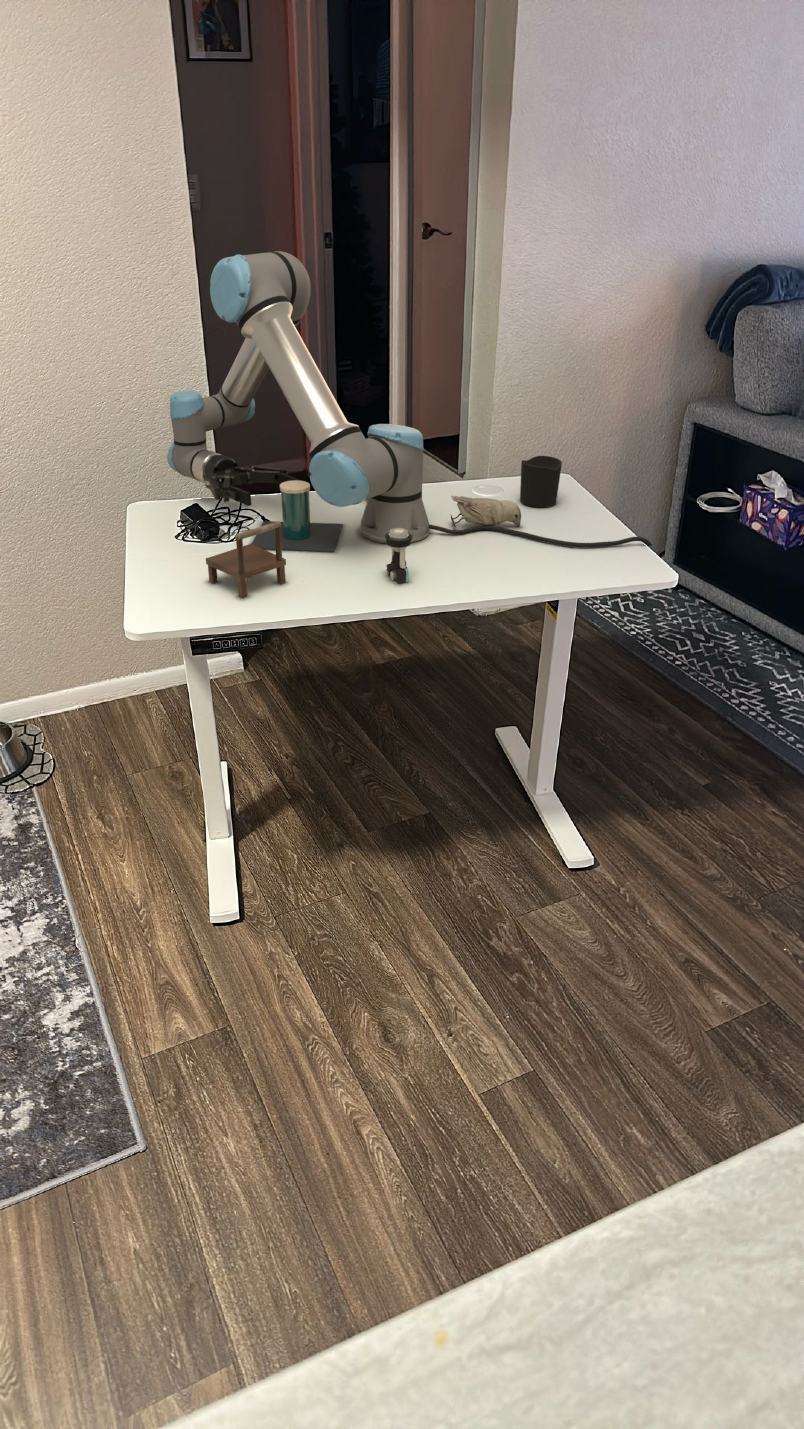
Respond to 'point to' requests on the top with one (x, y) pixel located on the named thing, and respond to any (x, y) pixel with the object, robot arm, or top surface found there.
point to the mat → (319, 541)
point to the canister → (295, 509)
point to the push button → (398, 553)
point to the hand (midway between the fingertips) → (274, 492)
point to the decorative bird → (487, 511)
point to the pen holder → (540, 481)
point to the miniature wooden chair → (249, 559)
